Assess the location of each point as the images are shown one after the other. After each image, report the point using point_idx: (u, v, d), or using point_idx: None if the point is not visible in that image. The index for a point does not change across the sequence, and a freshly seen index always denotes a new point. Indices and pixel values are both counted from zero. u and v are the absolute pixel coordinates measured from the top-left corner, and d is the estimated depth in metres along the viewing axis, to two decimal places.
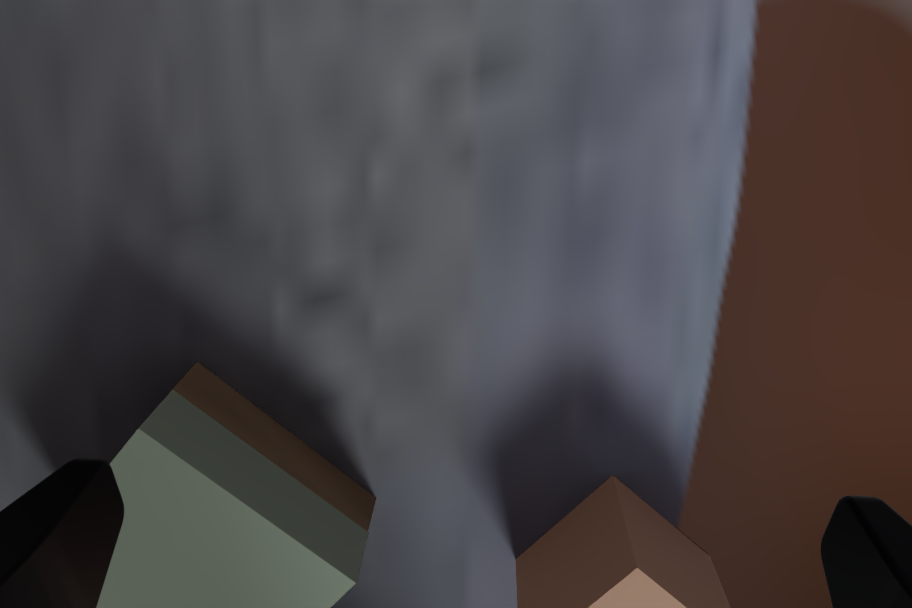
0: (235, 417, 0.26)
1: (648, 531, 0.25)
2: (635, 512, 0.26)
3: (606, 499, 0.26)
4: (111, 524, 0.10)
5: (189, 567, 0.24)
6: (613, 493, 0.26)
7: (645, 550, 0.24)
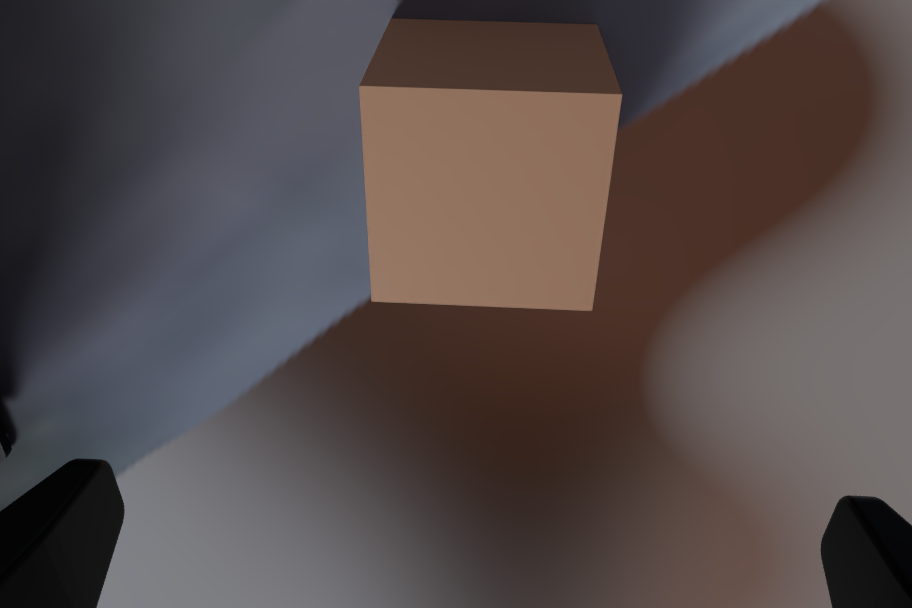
0: None
1: None
2: None
3: (579, 35, 0.18)
4: (111, 524, 0.10)
5: None
6: (594, 35, 0.18)
7: None
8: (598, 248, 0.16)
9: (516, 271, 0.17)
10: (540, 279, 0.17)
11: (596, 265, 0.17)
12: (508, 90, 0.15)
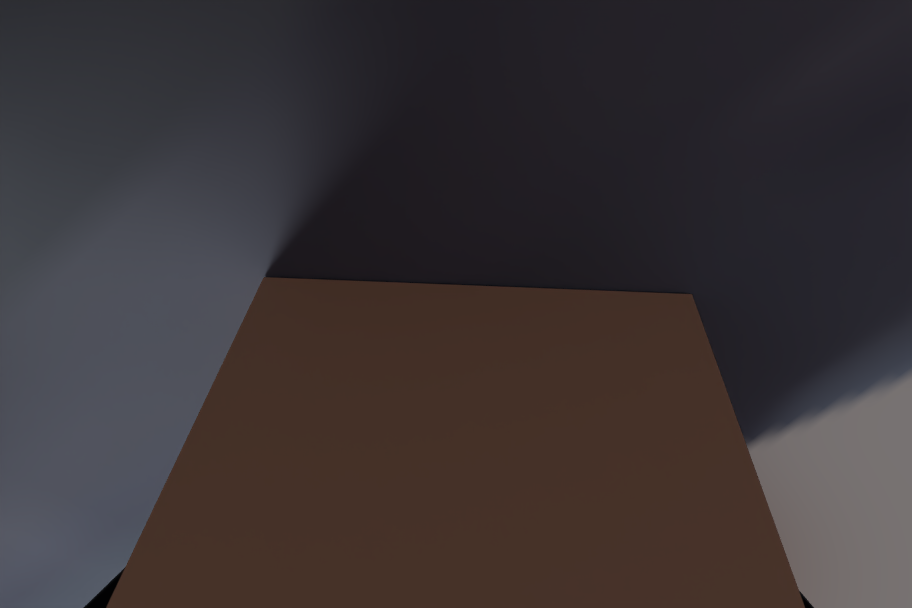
0: None
1: None
2: None
3: (663, 347, 0.08)
4: None
5: None
6: (696, 350, 0.08)
7: None
8: None
9: None
10: None
11: None
12: None
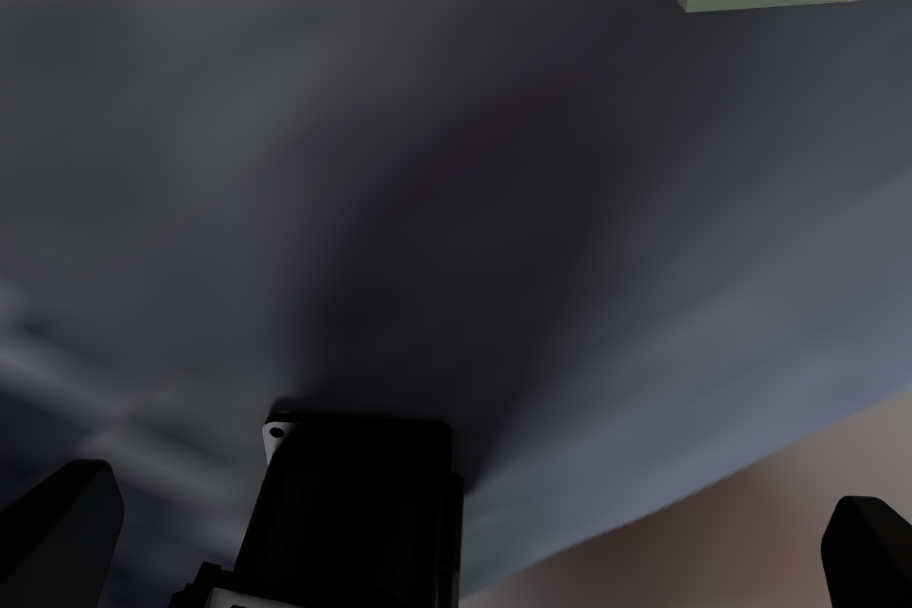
0: None
1: None
2: None
3: None
4: (111, 524, 0.10)
5: None
6: None
7: None
8: None
9: None
10: None
11: None
12: None
